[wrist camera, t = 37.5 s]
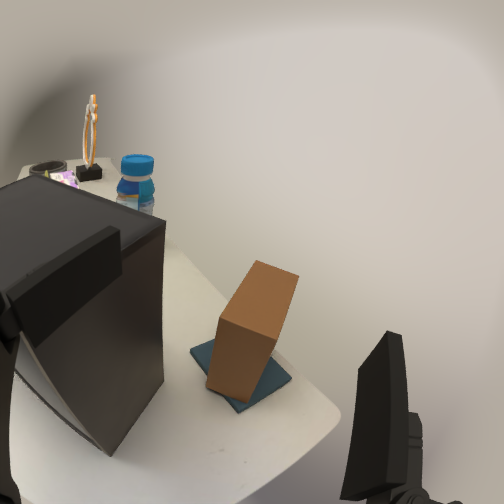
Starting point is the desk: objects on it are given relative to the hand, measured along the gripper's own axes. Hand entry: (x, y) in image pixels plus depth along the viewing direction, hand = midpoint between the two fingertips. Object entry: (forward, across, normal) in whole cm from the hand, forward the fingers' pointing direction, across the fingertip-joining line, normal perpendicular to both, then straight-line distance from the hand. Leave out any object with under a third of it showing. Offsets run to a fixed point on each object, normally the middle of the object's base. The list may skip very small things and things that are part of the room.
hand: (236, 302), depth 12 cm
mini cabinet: (+1, -19, -26) cm, 32 cm away
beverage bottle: (+33, -34, -26) cm, 54 cm away
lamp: (+58, -80, -26) cm, 102 cm away
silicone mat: (+15, 0, -26) cm, 30 cm away
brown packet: (+15, 0, -25) cm, 29 cm away
